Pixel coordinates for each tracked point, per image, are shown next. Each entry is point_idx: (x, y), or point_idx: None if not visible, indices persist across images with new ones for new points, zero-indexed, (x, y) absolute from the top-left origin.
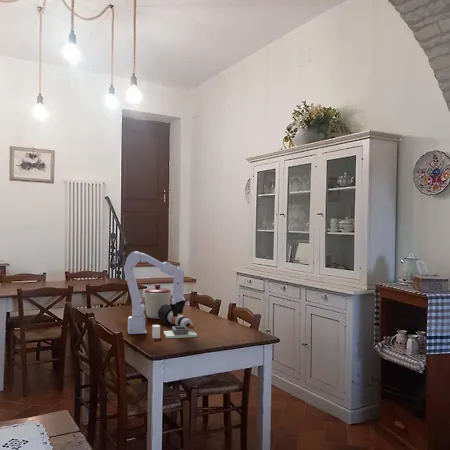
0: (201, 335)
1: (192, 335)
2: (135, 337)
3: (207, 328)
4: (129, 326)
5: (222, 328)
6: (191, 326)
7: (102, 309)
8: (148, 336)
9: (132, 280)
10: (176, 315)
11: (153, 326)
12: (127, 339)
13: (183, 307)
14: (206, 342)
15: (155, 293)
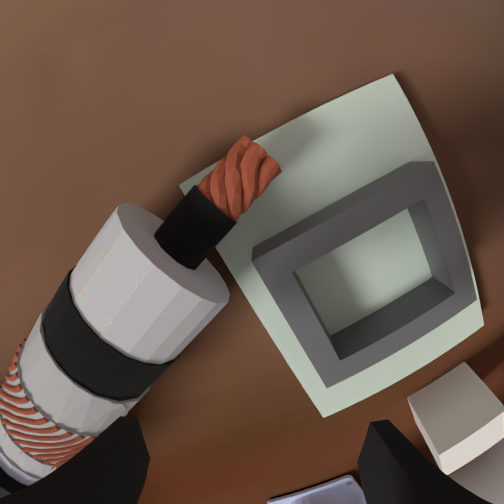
0: (312, 50)
1: (411, 116)
2: (437, 464)
3: (27, 111)
4: None
5: (18, 17)
6: (278, 164)
7: None
8: (420, 435)
9: None
10: (398, 437)
11: (491, 445)
12: (468, 463)
13: (56, 484)
14: (489, 8)
15: None
